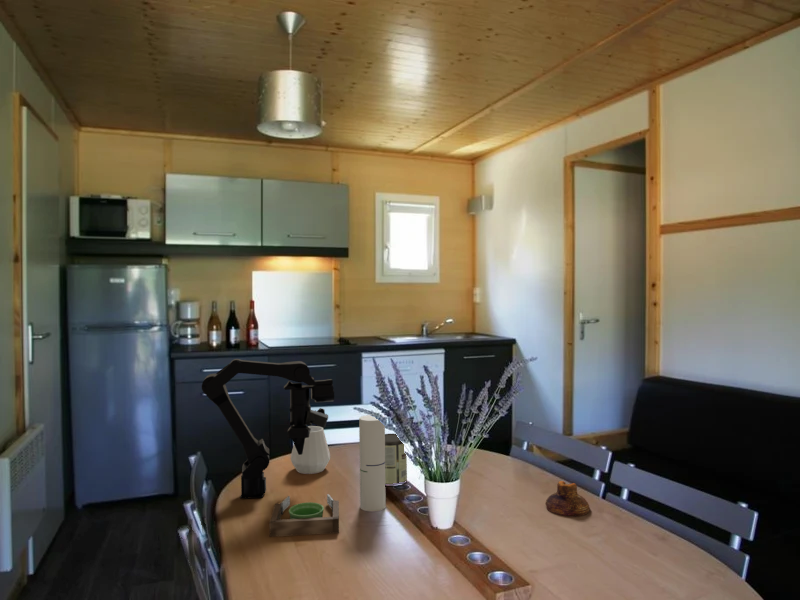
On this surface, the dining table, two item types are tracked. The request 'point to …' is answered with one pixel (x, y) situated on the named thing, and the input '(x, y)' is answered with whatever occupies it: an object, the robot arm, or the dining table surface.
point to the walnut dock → (303, 523)
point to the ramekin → (306, 510)
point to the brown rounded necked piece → (567, 501)
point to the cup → (312, 453)
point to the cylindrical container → (372, 464)
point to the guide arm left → (285, 504)
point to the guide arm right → (330, 501)
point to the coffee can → (395, 460)
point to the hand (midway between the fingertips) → (300, 454)
